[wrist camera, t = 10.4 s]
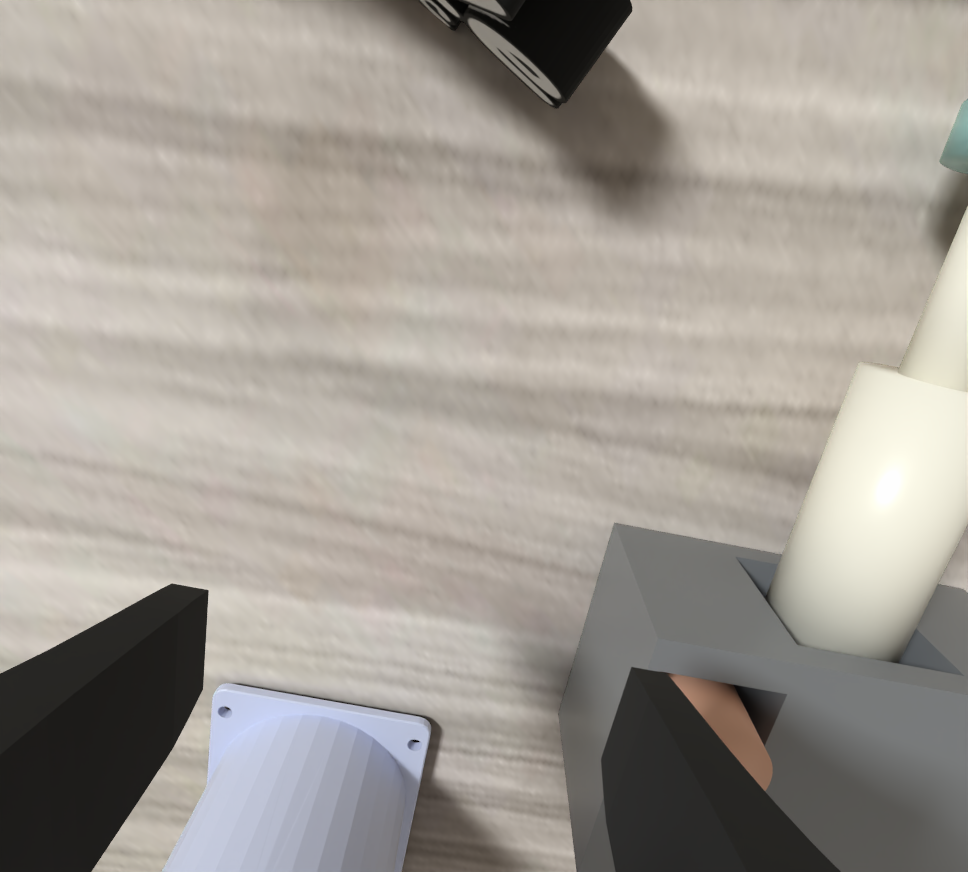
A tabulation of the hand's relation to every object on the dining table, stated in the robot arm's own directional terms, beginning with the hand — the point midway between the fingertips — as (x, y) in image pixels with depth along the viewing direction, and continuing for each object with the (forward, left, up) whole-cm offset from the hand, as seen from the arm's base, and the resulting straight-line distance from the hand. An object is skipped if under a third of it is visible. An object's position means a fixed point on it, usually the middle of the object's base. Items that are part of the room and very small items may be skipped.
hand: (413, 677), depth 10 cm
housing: (-5, -12, -10) cm, 16 cm away
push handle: (+5, -11, -9) cm, 15 cm away
